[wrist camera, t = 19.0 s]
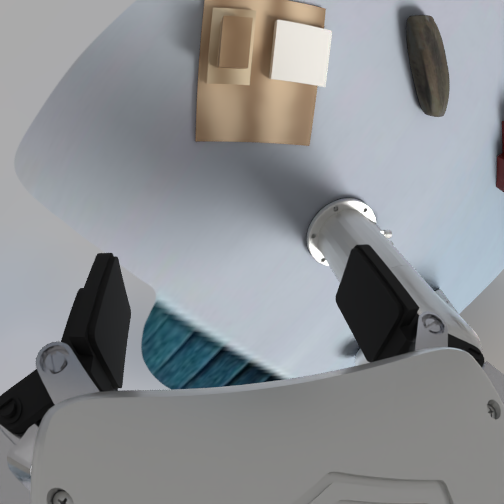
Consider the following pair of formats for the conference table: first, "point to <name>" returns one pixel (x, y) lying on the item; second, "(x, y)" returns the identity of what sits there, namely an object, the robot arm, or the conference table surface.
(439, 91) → the decorative stone
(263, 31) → the cork mat
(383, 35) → the conference table surface
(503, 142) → the toy houses
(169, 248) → the conference table surface
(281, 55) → the tile
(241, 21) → the wooden float
